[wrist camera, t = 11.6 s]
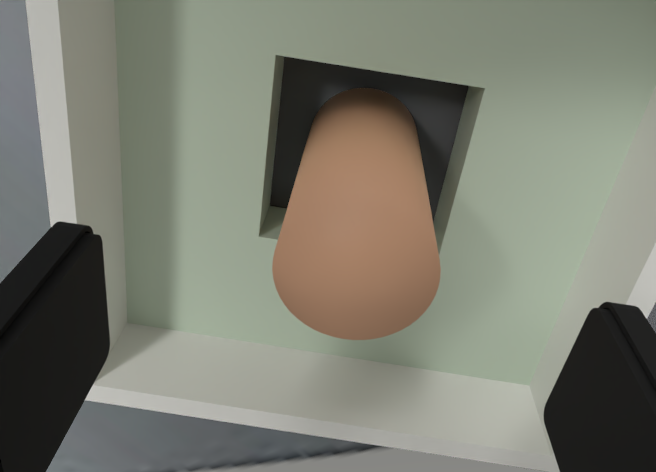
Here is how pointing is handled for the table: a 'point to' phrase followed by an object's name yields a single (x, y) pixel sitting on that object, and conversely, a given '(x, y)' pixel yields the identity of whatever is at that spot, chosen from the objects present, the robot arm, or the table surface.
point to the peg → (359, 222)
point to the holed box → (266, 221)
